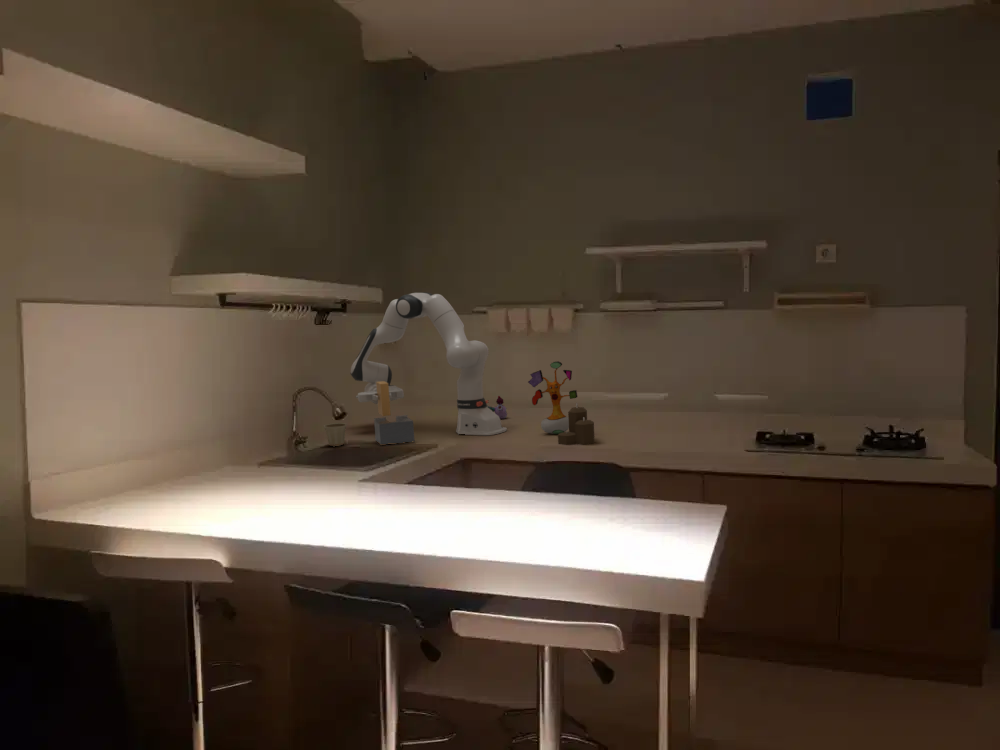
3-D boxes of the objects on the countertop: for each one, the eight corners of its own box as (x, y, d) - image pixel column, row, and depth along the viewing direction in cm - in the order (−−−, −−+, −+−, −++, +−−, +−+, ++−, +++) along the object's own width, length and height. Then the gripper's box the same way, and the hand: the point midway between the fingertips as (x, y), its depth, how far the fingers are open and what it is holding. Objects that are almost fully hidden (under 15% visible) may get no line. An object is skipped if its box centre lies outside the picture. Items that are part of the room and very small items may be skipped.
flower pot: (335, 442, 355) (334, 422, 354) (353, 444, 350) (351, 423, 349) (320, 447, 347) (318, 426, 346) (337, 448, 342) (336, 427, 341)
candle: (563, 438, 338) (561, 401, 337) (596, 438, 335) (595, 400, 333) (557, 445, 325) (555, 406, 324) (592, 444, 322) (591, 406, 320)
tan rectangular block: (378, 413, 372) (376, 381, 371) (386, 412, 373) (384, 381, 372) (382, 416, 363) (380, 384, 361) (390, 415, 364) (388, 383, 362)
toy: (499, 433, 390) (513, 404, 388) (470, 419, 389) (484, 390, 388) (499, 429, 400) (513, 401, 399) (472, 415, 400) (485, 387, 398)
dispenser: (375, 441, 353) (374, 418, 352) (408, 437, 358) (406, 414, 357) (380, 446, 342) (379, 422, 341) (414, 442, 346) (412, 418, 345)
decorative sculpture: (529, 435, 347) (525, 363, 344) (532, 432, 355) (529, 361, 352) (577, 435, 342) (574, 362, 339) (579, 431, 350) (576, 360, 347)
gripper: (354, 389, 376) (359, 392, 363) (399, 385, 382) (405, 388, 369) (355, 403, 377) (360, 407, 364) (400, 398, 383) (406, 402, 370)
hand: (383, 397), depth 366 cm, fingers closed on tan rectangular block, 3 cm apart
